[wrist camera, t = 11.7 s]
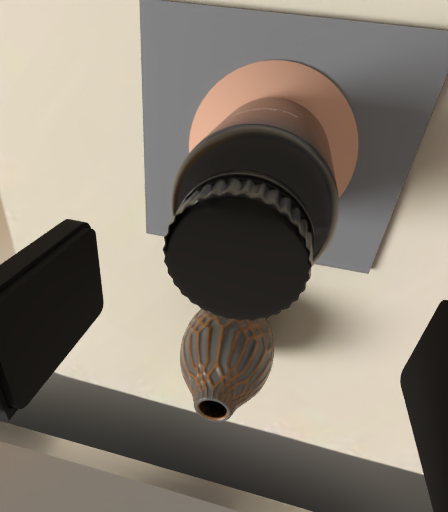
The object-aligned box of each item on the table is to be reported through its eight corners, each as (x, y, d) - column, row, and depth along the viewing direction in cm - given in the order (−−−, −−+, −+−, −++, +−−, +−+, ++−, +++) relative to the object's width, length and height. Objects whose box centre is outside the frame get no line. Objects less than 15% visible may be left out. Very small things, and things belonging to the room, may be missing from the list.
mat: (459, 32, 17) (465, 32, 16) (367, 268, 24) (368, 275, 24) (144, -1, 19) (138, -3, 18) (149, 229, 26) (145, 234, 25)
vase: (291, 335, 29) (287, 435, 22) (222, 355, 32) (197, 449, 24) (251, 272, 26) (231, 361, 19) (179, 300, 29) (138, 386, 22)
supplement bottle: (288, 66, 18) (272, 97, 8) (350, 173, 20) (396, 300, 10) (191, 141, 21) (91, 231, 11) (253, 227, 23) (217, 367, 13)
